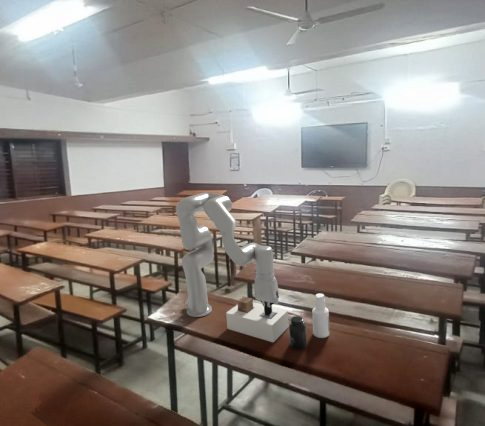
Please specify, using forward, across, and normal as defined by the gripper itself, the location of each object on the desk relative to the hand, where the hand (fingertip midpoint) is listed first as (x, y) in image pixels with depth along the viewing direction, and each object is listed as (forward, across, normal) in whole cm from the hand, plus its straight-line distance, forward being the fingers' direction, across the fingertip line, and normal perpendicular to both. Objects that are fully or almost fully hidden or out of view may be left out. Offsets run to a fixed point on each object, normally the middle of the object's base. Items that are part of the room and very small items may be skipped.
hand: (268, 313), depth 162 cm
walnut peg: (+2, -12, 0) cm, 12 cm away
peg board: (+8, -6, 0) cm, 10 cm away
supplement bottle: (+9, +16, -4) cm, 19 cm away
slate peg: (+7, 0, 0) cm, 7 cm away
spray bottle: (+9, +21, +8) cm, 24 cm away
